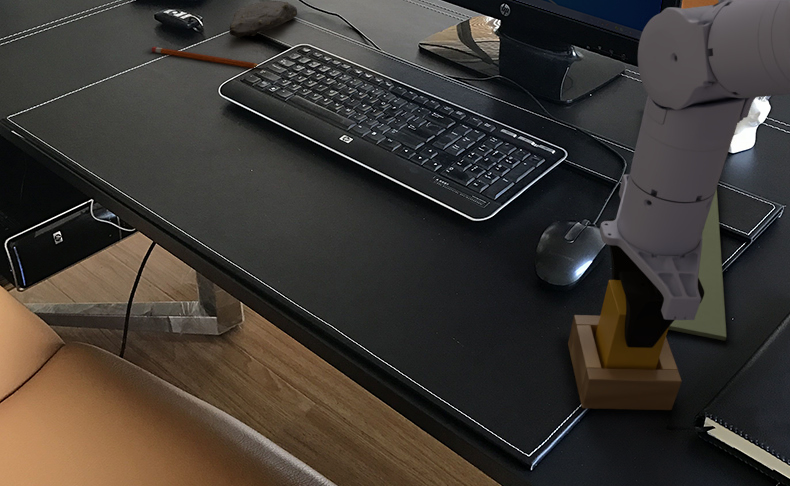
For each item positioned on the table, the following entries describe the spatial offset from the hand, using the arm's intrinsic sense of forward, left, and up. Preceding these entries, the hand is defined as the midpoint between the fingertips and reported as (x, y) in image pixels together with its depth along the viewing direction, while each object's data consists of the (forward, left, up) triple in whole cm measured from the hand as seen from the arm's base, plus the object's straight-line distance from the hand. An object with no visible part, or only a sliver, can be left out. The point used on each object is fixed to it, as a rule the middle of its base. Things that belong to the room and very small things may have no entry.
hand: (632, 323), depth 62 cm
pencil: (+70, -24, -6) cm, 74 cm away
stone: (+71, -37, -6) cm, 80 cm away
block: (0, 0, -4) cm, 4 cm away
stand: (0, 0, -6) cm, 6 cm away
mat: (+4, -27, -6) cm, 28 cm away
